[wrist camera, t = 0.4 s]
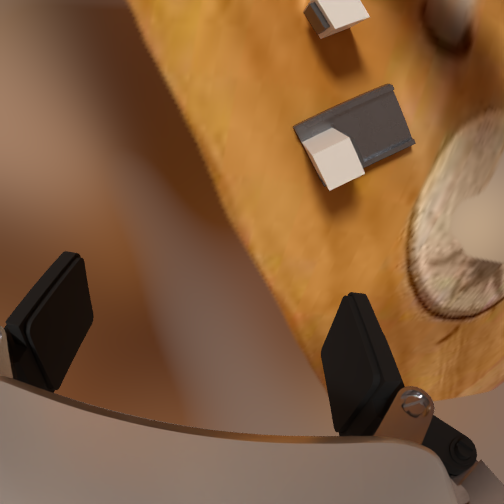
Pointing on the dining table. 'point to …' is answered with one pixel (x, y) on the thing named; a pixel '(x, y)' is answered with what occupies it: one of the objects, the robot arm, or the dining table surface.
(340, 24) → the white rectangular block
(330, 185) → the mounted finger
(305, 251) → the dining table surface
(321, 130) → the grey slab
